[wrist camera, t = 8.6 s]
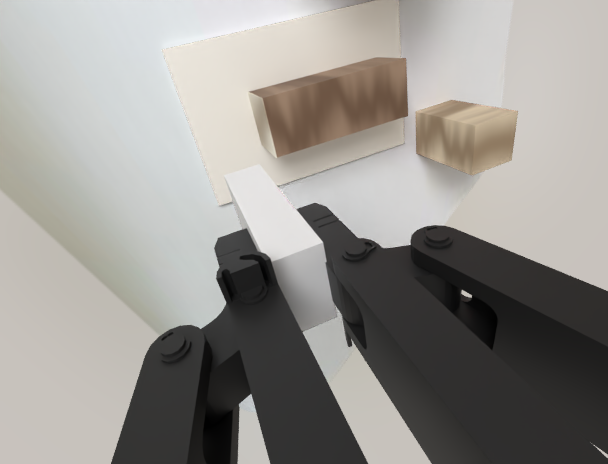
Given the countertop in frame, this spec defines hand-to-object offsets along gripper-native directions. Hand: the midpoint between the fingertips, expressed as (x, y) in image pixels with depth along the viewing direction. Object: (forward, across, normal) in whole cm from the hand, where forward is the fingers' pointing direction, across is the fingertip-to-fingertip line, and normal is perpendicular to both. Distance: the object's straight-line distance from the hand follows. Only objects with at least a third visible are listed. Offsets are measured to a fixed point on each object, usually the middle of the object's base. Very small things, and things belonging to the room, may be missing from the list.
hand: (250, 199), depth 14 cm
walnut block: (+14, +4, -1) cm, 15 cm away
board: (+17, +9, -1) cm, 19 cm away
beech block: (+17, +23, -7) cm, 29 cm away
